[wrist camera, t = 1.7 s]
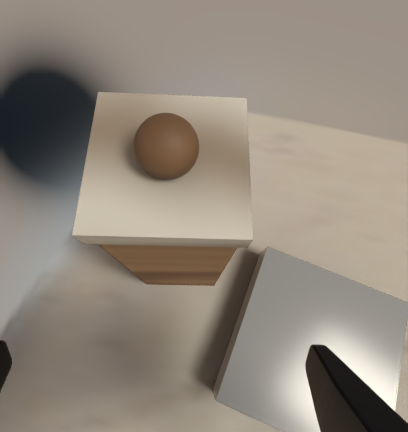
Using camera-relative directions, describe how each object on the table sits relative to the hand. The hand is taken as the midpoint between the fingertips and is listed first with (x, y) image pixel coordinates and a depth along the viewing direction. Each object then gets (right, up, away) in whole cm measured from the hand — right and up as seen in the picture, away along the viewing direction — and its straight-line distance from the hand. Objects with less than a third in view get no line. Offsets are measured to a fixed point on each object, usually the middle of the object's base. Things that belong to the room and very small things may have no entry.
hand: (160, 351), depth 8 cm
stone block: (+8, -5, +12) cm, 16 cm away
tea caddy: (0, +1, +14) cm, 14 cm away
